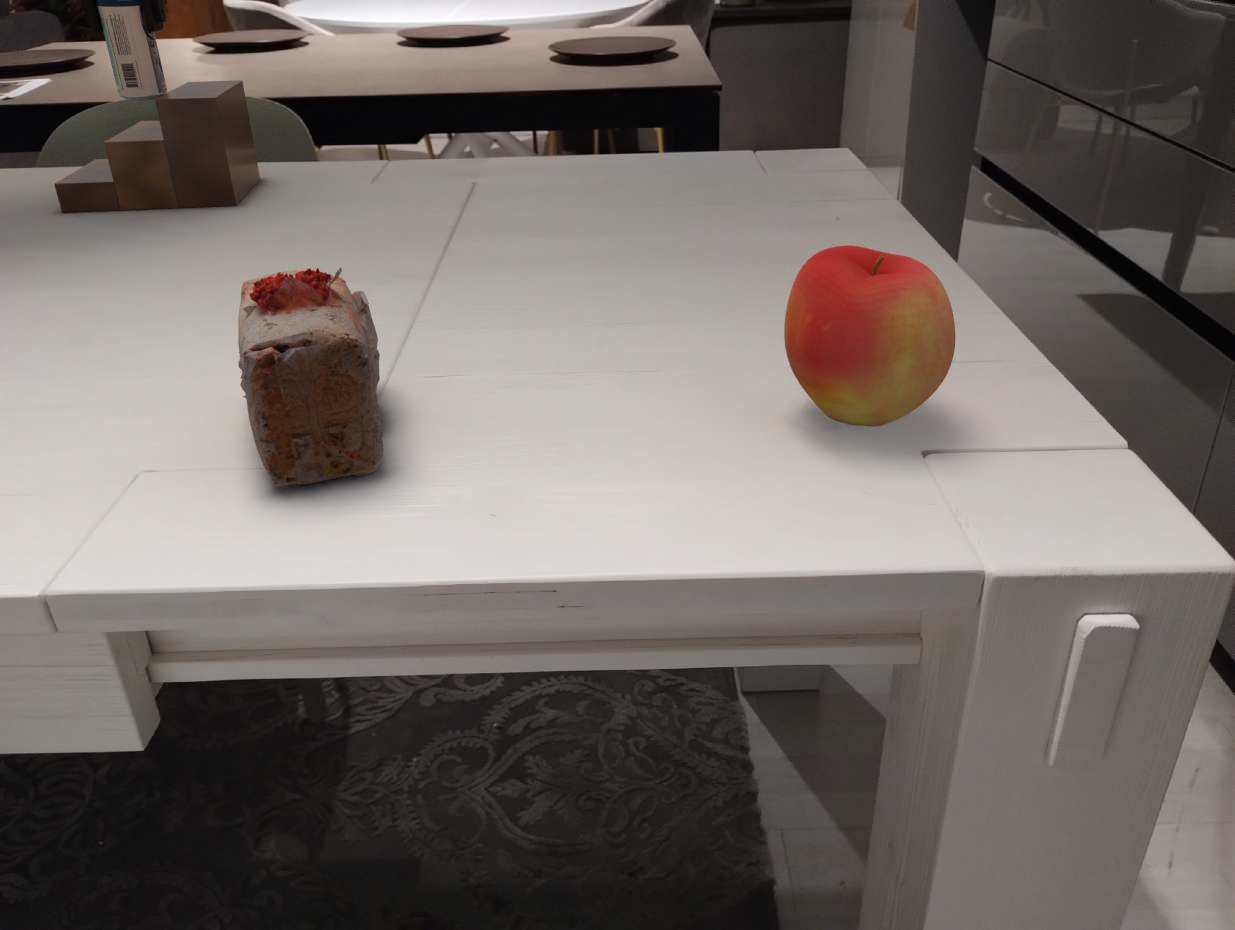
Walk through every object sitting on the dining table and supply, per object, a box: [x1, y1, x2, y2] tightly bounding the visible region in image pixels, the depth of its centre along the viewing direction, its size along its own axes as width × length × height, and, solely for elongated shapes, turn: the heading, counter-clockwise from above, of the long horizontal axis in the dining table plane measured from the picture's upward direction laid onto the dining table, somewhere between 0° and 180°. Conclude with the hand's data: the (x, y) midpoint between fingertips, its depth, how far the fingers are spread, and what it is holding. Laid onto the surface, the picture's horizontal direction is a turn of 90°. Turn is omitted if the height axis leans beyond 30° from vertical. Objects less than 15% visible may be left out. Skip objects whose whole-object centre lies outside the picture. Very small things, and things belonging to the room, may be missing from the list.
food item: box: [237, 267, 384, 487], centre depth 58 cm, size 14×8×10 cm, turn 20°
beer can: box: [96, 0, 168, 102], centre depth 105 cm, size 5×5×12 cm
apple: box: [783, 244, 956, 428], centre depth 59 cm, size 10×10×10 cm
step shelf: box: [53, 79, 261, 213], centre depth 110 cm, size 18×12×11 cm, turn 95°
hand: (128, 29), depth 104 cm, fingers closed on beer can, 4 cm apart
